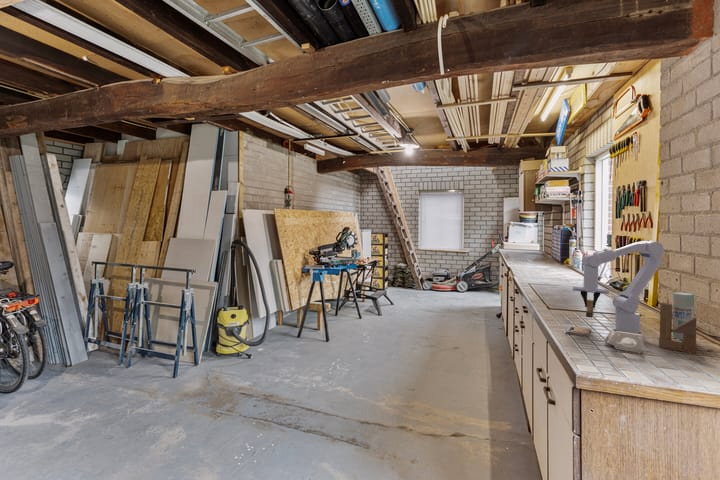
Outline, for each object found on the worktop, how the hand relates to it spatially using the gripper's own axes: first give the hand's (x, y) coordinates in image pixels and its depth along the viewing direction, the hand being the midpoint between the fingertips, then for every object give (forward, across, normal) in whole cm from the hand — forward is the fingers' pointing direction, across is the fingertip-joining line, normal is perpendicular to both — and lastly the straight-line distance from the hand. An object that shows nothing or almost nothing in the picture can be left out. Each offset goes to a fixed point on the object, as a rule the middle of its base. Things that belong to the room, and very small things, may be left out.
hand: (590, 307), depth 163 cm
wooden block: (+10, +30, -12) cm, 34 cm away
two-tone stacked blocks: (+4, 0, 0) cm, 4 cm away
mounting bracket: (+11, +13, -24) cm, 30 cm away
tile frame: (+10, -3, -11) cm, 15 cm away
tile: (+11, -2, -10) cm, 15 cm away
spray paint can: (+10, +33, +6) cm, 35 cm away
